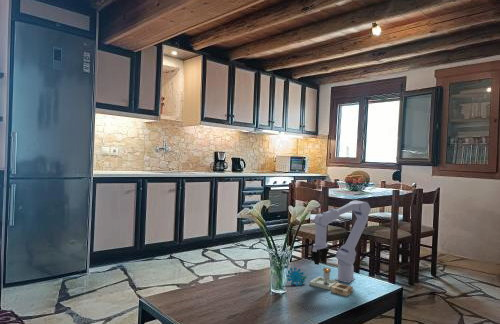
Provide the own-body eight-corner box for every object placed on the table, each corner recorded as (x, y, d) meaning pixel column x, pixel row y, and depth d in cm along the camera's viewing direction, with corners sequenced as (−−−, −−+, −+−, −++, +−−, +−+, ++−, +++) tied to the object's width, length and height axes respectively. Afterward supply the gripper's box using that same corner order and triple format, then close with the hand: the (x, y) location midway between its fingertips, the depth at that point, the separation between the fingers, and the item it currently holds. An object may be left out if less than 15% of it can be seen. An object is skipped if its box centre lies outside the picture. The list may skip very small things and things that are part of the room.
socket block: (337, 287, 179) (337, 282, 179) (352, 291, 174) (353, 286, 174) (330, 291, 172) (331, 286, 172) (346, 296, 167) (346, 291, 167)
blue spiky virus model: (287, 283, 177) (286, 265, 184) (284, 288, 181) (283, 270, 188) (308, 286, 179) (306, 268, 186) (304, 291, 183) (302, 273, 190)
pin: (324, 282, 184) (325, 267, 184) (331, 284, 181) (331, 269, 181) (321, 284, 181) (321, 268, 181) (327, 286, 179) (328, 270, 178)
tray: (319, 279, 190) (319, 276, 190) (338, 284, 183) (338, 281, 183) (309, 284, 181) (309, 281, 181) (329, 290, 174) (329, 286, 174)
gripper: (319, 233, 193) (318, 258, 194) (307, 238, 182) (306, 264, 182) (331, 235, 189) (330, 260, 189) (320, 240, 178) (319, 267, 178)
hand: (319, 262), depth 185 cm, fingers open, 7 cm apart
